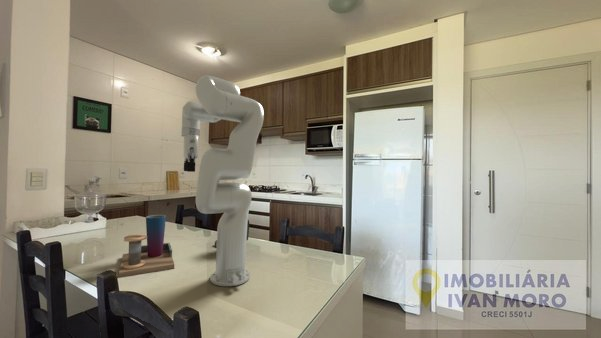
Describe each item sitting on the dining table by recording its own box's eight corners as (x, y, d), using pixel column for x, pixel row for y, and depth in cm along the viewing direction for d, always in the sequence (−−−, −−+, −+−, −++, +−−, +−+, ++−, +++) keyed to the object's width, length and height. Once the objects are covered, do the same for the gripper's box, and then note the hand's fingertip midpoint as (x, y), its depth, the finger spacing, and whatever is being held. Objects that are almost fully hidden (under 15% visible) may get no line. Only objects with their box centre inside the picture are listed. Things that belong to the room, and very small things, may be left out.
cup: (168, 252, 100) (169, 215, 100) (157, 258, 93) (158, 218, 93) (153, 251, 101) (154, 214, 101) (140, 257, 94) (141, 217, 94)
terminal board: (174, 268, 89) (175, 236, 89) (118, 277, 80) (120, 241, 80) (169, 251, 106) (170, 224, 106) (122, 257, 97) (124, 228, 97)
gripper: (203, 132, 107) (201, 172, 107) (196, 136, 122) (194, 171, 122) (184, 130, 103) (182, 171, 103) (179, 134, 118) (177, 170, 117)
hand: (189, 171), depth 112 cm, fingers open, 9 cm apart
